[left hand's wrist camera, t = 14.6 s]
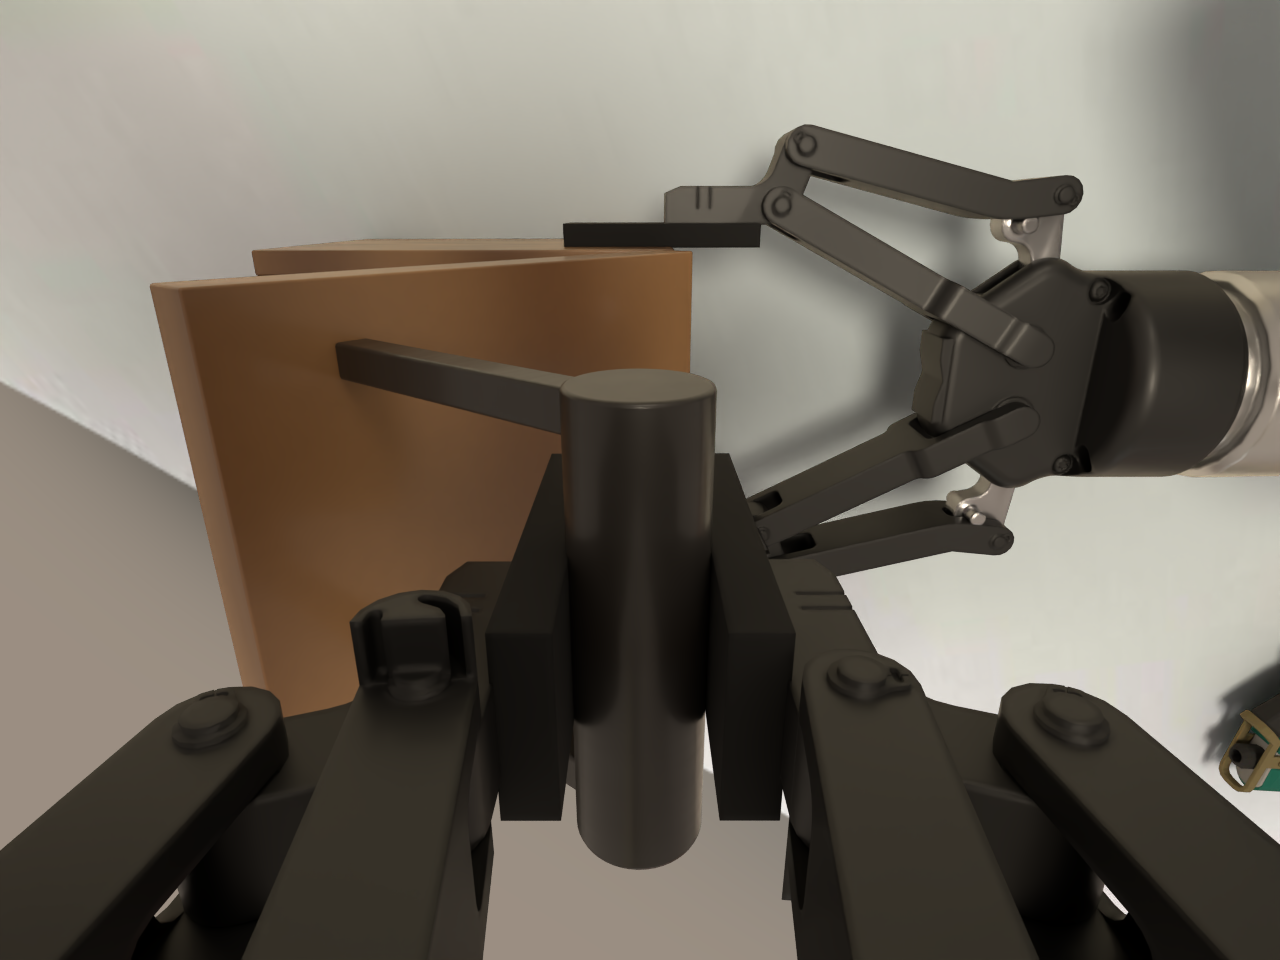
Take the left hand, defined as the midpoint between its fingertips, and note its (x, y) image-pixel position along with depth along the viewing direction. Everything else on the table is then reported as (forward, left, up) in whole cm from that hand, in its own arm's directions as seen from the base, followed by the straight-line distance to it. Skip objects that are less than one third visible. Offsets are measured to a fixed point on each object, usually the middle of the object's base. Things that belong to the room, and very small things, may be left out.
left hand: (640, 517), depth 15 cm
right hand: (-2, -1, -13) cm, 13 cm away
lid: (-3, -2, -4) cm, 6 cm away
